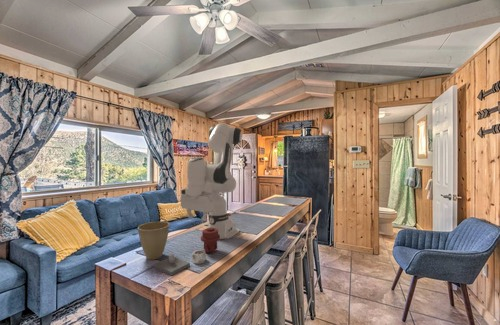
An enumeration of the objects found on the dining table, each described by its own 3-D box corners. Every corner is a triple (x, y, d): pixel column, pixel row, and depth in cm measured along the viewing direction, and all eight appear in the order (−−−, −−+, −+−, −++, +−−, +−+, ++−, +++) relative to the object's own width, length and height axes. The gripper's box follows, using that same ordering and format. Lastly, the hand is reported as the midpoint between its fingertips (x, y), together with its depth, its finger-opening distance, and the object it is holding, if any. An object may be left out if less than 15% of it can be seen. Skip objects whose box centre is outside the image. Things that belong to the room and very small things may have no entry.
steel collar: (199, 256, 112) (199, 248, 112) (208, 259, 109) (207, 251, 109) (189, 261, 107) (189, 253, 107) (198, 264, 104) (198, 256, 104)
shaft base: (172, 259, 110) (172, 248, 110) (189, 265, 103) (189, 254, 103) (153, 267, 102) (153, 255, 102) (171, 275, 95) (170, 262, 94)
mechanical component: (199, 255, 114) (203, 247, 124) (218, 255, 114) (221, 247, 124) (198, 231, 114) (203, 225, 124) (217, 231, 113) (221, 225, 123)
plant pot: (150, 265, 103) (149, 232, 103) (132, 258, 112) (131, 227, 111) (176, 254, 116) (175, 223, 116) (158, 248, 124) (158, 219, 124)
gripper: (217, 191, 104) (217, 221, 104) (188, 189, 116) (188, 215, 116) (207, 193, 99) (207, 224, 99) (178, 190, 111) (178, 218, 111)
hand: (197, 219), depth 108 cm, fingers open, 8 cm apart
